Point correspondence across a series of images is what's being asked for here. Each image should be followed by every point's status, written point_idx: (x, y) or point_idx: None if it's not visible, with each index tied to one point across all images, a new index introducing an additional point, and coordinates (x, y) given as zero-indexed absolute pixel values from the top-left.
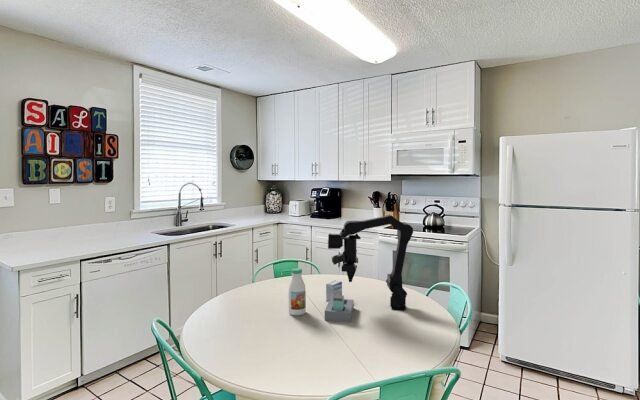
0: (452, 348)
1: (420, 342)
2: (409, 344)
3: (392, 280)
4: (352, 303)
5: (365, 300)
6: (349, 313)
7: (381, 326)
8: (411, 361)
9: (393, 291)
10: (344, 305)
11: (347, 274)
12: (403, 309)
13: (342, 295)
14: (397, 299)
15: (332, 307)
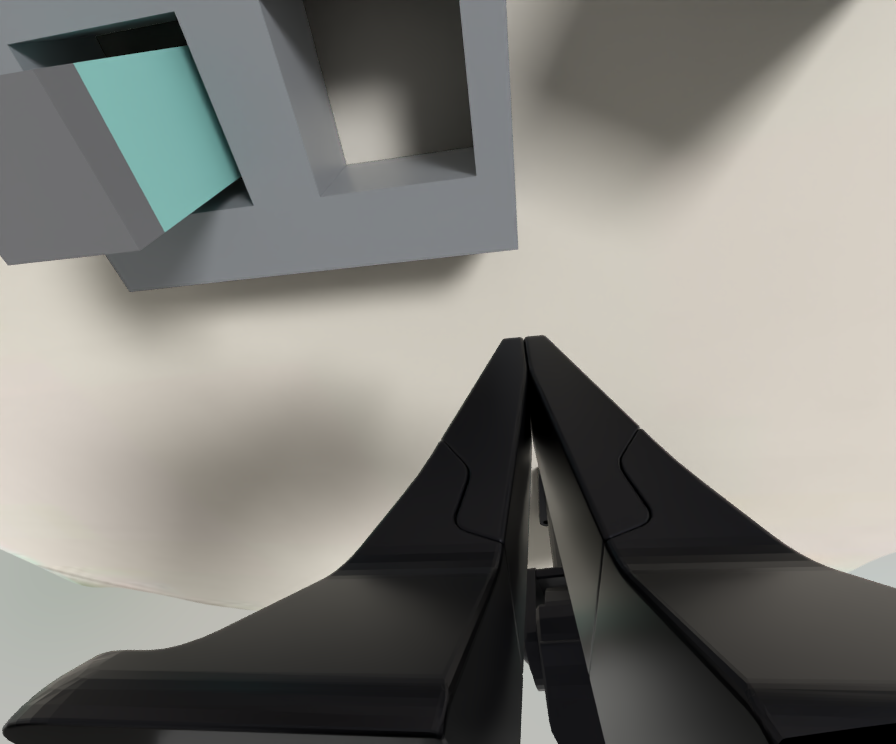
0: (218, 605)
1: (192, 551)
2: (143, 526)
3: (549, 719)
4: (383, 262)
5: (759, 283)
6: (131, 279)
7: (247, 435)
8: (19, 529)
9: (526, 610)
10: (277, 184)
11: (422, 474)
12: (539, 516)
13: (123, 231)
14: (552, 552)
15: (108, 24)
